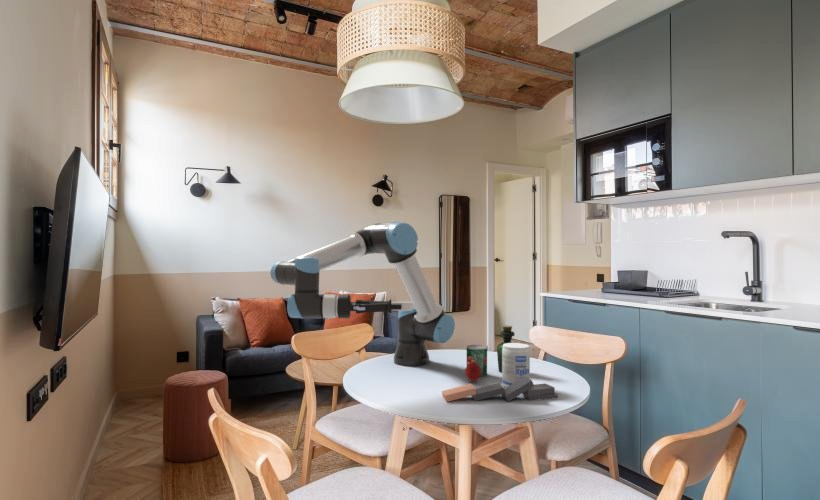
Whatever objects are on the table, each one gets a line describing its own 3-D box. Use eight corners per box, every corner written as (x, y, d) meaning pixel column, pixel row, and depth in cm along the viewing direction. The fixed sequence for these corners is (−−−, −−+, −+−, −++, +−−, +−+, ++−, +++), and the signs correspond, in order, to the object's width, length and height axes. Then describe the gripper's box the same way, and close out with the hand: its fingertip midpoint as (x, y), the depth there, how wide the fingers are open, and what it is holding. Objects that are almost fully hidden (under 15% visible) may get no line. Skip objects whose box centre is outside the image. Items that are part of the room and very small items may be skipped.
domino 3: (528, 390, 149) (554, 387, 153) (519, 386, 154) (545, 383, 157) (528, 396, 149) (554, 393, 153) (519, 392, 154) (545, 389, 157)
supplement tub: (519, 392, 157) (520, 349, 157) (496, 386, 164) (496, 345, 164) (534, 386, 164) (535, 345, 164) (511, 381, 171) (512, 341, 171)
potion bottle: (499, 374, 180) (500, 328, 180) (494, 369, 188) (494, 324, 188) (520, 374, 181) (520, 327, 180) (513, 368, 189) (514, 324, 189)
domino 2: (505, 396, 148) (531, 380, 149) (499, 391, 153) (525, 376, 154) (508, 401, 148) (534, 385, 150) (502, 396, 153) (527, 381, 154)
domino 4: (529, 396, 150) (557, 394, 152) (522, 391, 155) (550, 390, 157) (529, 402, 150) (557, 400, 152) (522, 397, 155) (550, 396, 157)
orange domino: (445, 395, 147) (475, 388, 149) (441, 391, 152) (470, 383, 154) (446, 402, 148) (476, 394, 149) (442, 397, 152) (472, 389, 154)
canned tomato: (491, 376, 177) (491, 347, 177) (475, 379, 173) (475, 349, 173) (478, 371, 184) (478, 343, 184) (462, 374, 180) (462, 346, 180)
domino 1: (473, 395, 149) (503, 387, 150) (470, 390, 154) (499, 382, 155) (475, 401, 149) (504, 393, 150) (471, 396, 154) (500, 388, 155)
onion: (479, 380, 172) (480, 358, 172) (482, 384, 167) (482, 362, 167) (464, 379, 172) (464, 358, 172) (466, 384, 167) (466, 362, 167)
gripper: (339, 315, 155) (410, 315, 156) (335, 321, 142) (412, 321, 143) (340, 292, 155) (410, 292, 156) (335, 296, 142) (412, 296, 143)
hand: (411, 306), depth 149 cm, fingers closed
